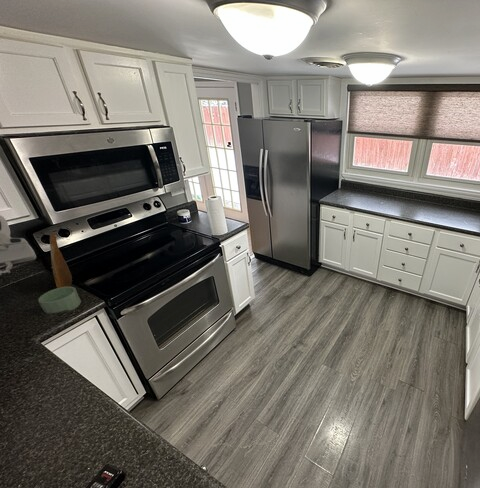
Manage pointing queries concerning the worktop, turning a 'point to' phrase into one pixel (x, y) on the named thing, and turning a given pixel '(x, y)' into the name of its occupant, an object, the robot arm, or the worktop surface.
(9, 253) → the robot arm
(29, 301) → the worktop surface
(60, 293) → the bowl
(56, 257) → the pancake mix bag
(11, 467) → the worktop surface
